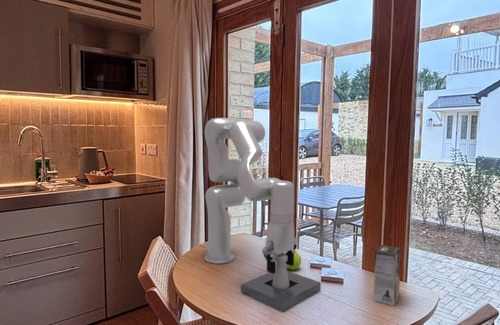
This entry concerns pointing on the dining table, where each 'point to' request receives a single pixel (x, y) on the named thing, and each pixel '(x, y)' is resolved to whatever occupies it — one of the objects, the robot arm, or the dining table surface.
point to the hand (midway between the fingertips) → (280, 268)
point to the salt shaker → (281, 273)
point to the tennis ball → (295, 262)
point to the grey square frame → (276, 298)
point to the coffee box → (387, 274)
